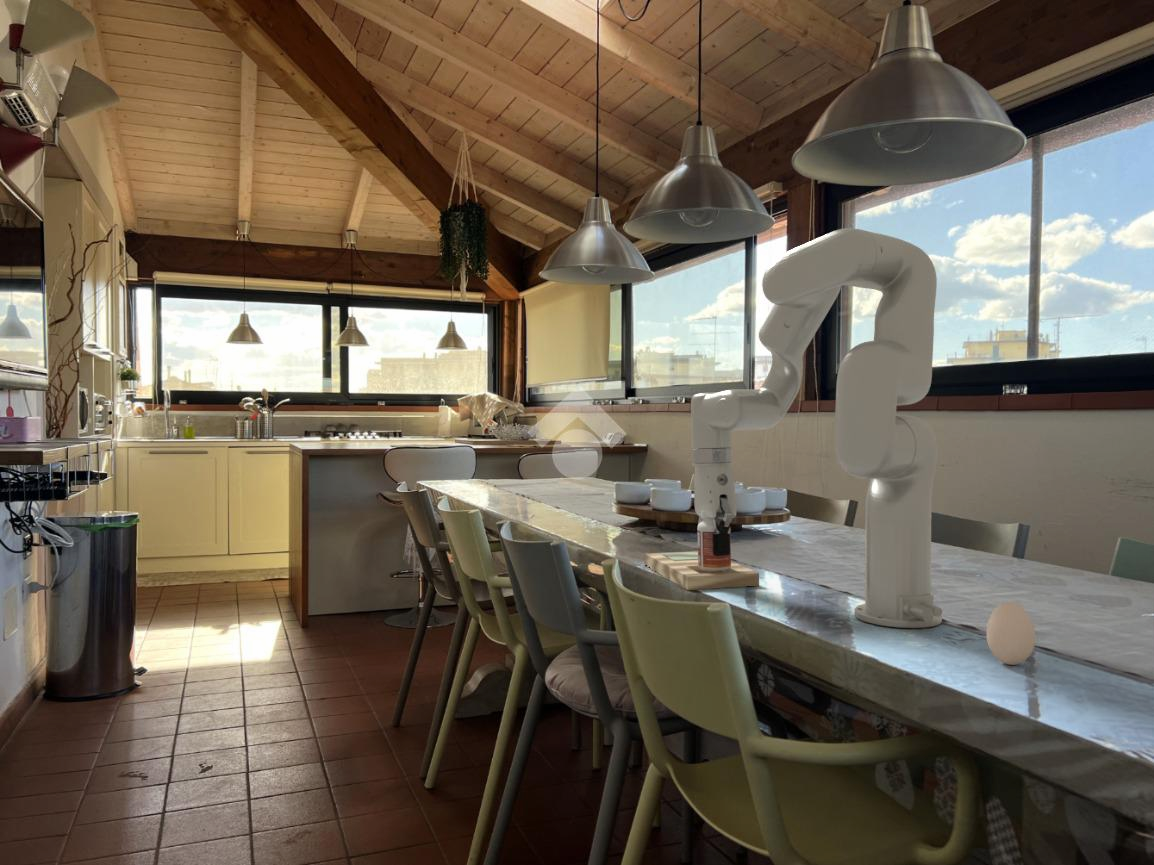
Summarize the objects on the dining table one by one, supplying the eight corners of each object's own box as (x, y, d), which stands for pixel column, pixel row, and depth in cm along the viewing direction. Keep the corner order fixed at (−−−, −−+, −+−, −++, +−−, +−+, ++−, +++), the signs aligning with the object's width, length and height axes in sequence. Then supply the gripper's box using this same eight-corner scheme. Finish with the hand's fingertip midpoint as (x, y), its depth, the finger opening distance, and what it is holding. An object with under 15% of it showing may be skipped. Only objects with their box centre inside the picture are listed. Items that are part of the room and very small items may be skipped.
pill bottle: (738, 569, 157) (737, 510, 157) (713, 573, 154) (712, 513, 153) (715, 564, 162) (714, 507, 162) (691, 568, 159) (690, 510, 159)
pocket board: (759, 586, 154) (759, 571, 154) (687, 590, 151) (687, 575, 151) (706, 562, 180) (706, 549, 179) (644, 565, 176) (644, 552, 176)
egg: (988, 668, 104) (988, 605, 104) (984, 656, 109) (984, 595, 109) (1038, 672, 102) (1038, 608, 102) (1031, 660, 107) (1031, 599, 107)
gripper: (749, 458, 150) (752, 558, 150) (713, 456, 167) (715, 546, 167) (710, 459, 149) (713, 560, 148) (677, 457, 165) (680, 548, 165)
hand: (714, 551), depth 158 cm, fingers closed on pill bottle, 6 cm apart
